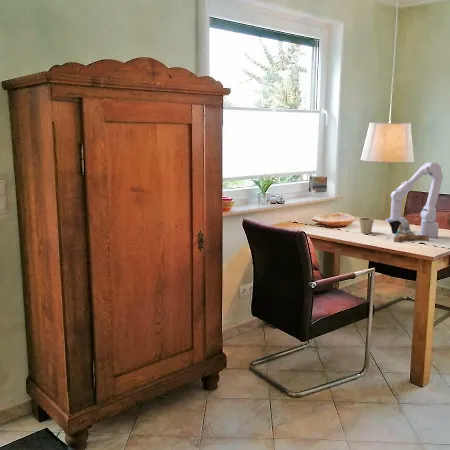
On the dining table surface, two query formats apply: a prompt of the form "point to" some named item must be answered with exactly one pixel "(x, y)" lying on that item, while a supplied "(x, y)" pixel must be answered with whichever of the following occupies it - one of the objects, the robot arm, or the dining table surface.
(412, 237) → the brown irregular flat piece
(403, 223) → the ceramic mug
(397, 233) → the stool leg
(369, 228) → the flower pot
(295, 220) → the dining table surface
